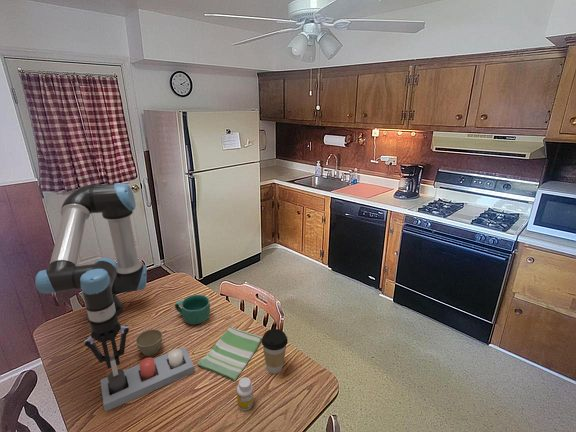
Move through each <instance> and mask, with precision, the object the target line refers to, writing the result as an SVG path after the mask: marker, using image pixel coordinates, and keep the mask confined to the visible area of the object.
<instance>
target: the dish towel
mask: <svg viewBox="0 0 576 432" xmlns="http://www.w3.org/2000/svg"><path fill="white" fill-rule="evenodd" d="M262 337H263V336H260V335H256V334H253V333H250V332H247V331H243V330H241V329H238V328H235V327H232V326H230V327H228V328H227V330H225V332H223V334H222V335H221V336H220V338H219V339H218V341H217V342H216V343H215V344H214V345H213V346H212V347H211V349H210V350H209V351H208V353H206V354H205V355H204V357H202V358H201V359H200V360H198V361H197V363H196V364H197V365H198V367H200V368H202V369H205V370H207V371H210V372H212V373H214V374H216V375H217V374H218V375H220V376H223V377H224V379H227V380H230V381H231V382H236V381H237V379H238V377H239V376H240V374H241V373H242V372H243V371H244V369H245V368H246V366H247V365H248V364H249V361H250V360H251V358H253V356H254V354H255V353H256V351H257V349H258V348H259V345H260V344H261V342H262Z"/></svg>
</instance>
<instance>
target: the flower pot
mask: <svg viewBox="0 0 576 432" xmlns="http://www.w3.org/2000/svg"><path fill="white" fill-rule="evenodd" d="M162 341H163V332H162V331H161V330H159V329H157V328H156V329H155V328H152V329H151V328H150V329H148V330H145V331H142V332H141V333H140V334H138V335H137V337H136V338H135V344H136V346H137V348H138V350H139V351H140V352H141V353H142V354H143V355H145V356H146V357H151V356H155V355H156V353H158V351H159V350H160V348H161V345H162Z"/></svg>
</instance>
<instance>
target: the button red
mask: <svg viewBox="0 0 576 432" xmlns="http://www.w3.org/2000/svg"><path fill="white" fill-rule="evenodd" d="M138 365H139V366H140V372H141V376H140V378H141V381H145V380H148V379H150V378H152V377H155V376H157V370H156V368H155V362H154V358H153V357H145V358H143V359H142V360H141V361H140V362H139V364H138Z"/></svg>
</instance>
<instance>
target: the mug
mask: <svg viewBox="0 0 576 432" xmlns="http://www.w3.org/2000/svg"><path fill="white" fill-rule="evenodd" d="M210 304H211V303H210V299H209V297H208V296H206V295H203V294H194V295H190V296H188V297H186V298H184V299H183V300H178V301H176V302H175V305H174V308H175V310H176V311H177V312H178V314H181V315H182V317H183V320H184V321H185V322H186V323H188V324H191V325H199V324H201V323H204V322H205V321H207V320H208V318H209V317H210V314H211V305H210Z"/></svg>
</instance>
